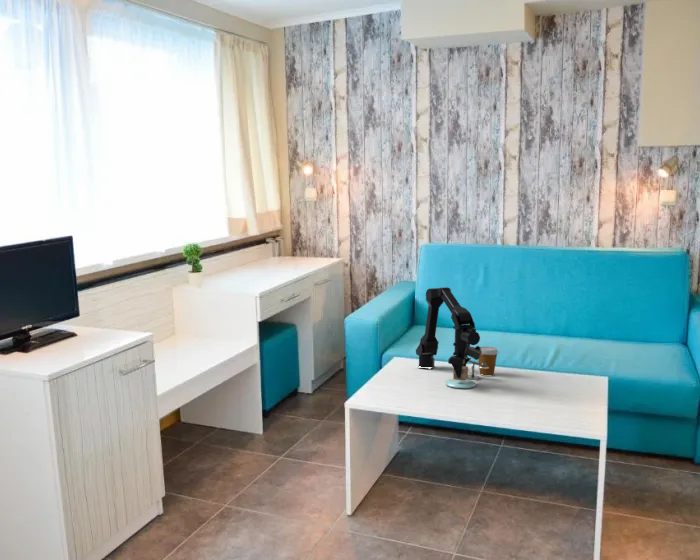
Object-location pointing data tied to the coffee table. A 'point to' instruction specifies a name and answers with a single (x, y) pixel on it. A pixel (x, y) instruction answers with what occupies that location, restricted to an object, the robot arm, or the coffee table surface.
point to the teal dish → (460, 383)
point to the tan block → (462, 374)
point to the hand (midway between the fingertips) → (460, 376)
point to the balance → (472, 376)
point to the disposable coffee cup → (488, 360)
